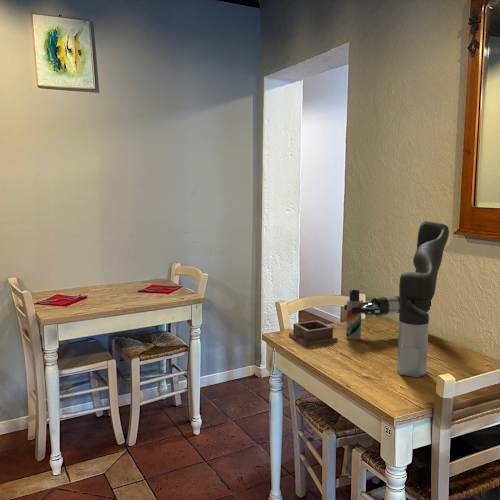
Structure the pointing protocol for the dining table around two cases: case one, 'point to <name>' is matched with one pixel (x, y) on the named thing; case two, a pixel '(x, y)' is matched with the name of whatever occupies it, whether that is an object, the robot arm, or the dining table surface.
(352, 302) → the lotion bottle
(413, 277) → the robot arm
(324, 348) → the dining table surface
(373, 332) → the dining table surface
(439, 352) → the dining table surface
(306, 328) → the bottle holder
